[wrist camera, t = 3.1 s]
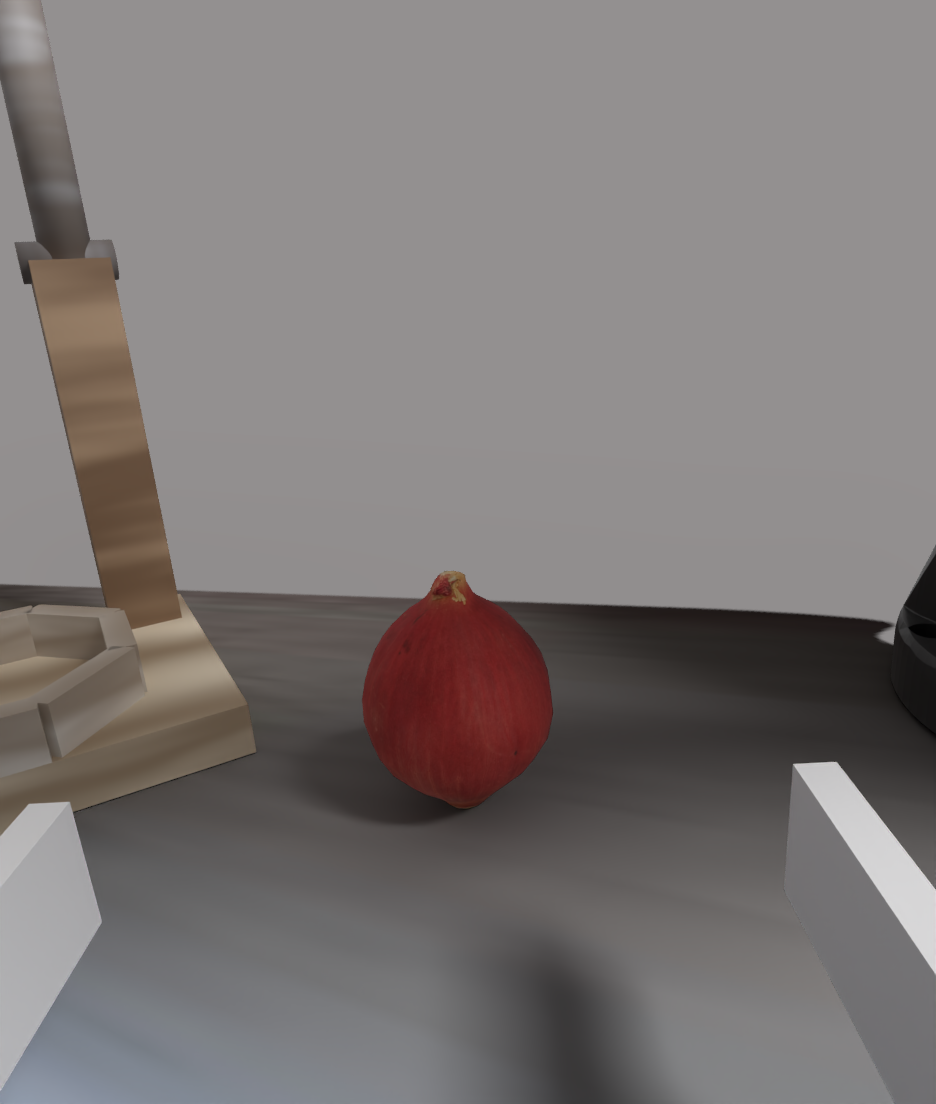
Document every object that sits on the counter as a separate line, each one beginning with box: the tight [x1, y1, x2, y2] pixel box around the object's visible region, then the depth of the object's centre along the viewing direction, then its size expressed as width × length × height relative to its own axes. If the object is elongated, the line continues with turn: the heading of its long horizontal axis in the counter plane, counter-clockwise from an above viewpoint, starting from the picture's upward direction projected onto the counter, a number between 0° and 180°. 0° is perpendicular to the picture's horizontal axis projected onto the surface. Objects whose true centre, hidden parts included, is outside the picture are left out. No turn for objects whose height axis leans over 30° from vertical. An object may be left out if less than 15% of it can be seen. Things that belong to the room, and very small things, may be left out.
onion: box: [362, 571, 553, 808], centre depth 24 cm, size 6×6×8 cm
